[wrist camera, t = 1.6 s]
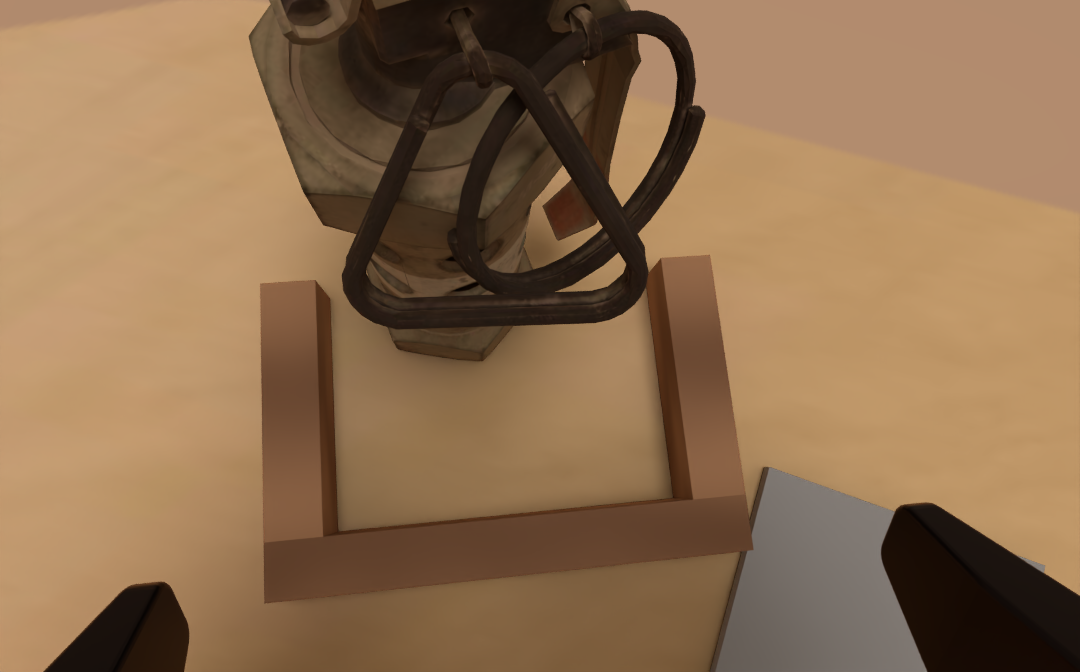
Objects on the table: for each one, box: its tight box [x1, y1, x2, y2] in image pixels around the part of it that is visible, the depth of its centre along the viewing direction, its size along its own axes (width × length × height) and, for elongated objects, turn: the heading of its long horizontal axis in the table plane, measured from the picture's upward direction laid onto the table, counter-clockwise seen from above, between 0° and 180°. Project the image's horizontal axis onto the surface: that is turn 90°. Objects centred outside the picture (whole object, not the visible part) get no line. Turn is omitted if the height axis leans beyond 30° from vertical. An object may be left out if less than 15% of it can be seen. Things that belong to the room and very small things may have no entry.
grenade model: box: [249, 0, 705, 361], centre depth 15 cm, size 6×7×15 cm
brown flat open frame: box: [260, 255, 754, 603], centre depth 20 cm, size 8×13×2 cm, turn 95°
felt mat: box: [710, 467, 1045, 672], centre depth 21 cm, size 9×9×1 cm
